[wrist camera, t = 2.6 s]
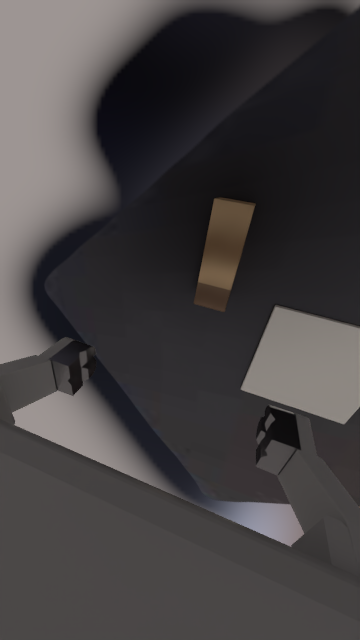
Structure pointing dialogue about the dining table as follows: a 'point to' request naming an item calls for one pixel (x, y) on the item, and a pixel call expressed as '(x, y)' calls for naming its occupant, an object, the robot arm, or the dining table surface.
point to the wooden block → (222, 251)
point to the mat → (308, 364)
